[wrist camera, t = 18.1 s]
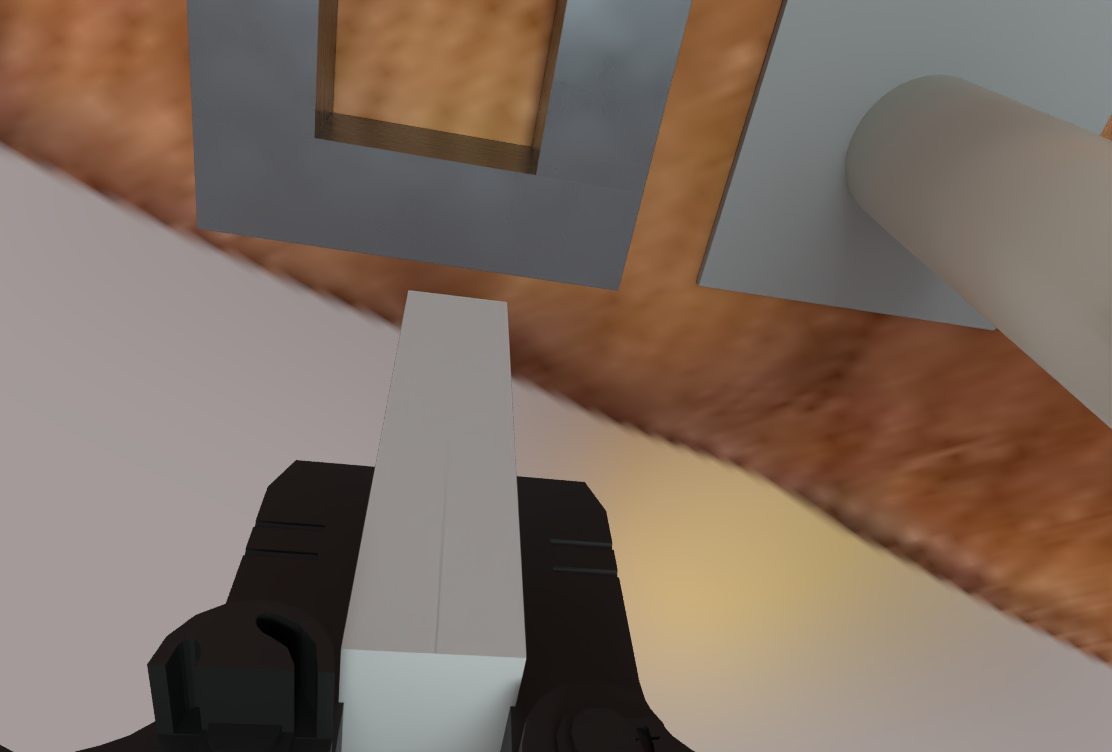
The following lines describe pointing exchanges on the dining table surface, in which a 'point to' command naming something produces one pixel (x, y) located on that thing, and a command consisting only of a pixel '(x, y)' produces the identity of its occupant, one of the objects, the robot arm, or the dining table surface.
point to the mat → (839, 106)
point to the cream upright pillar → (1000, 217)
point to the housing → (430, 145)
